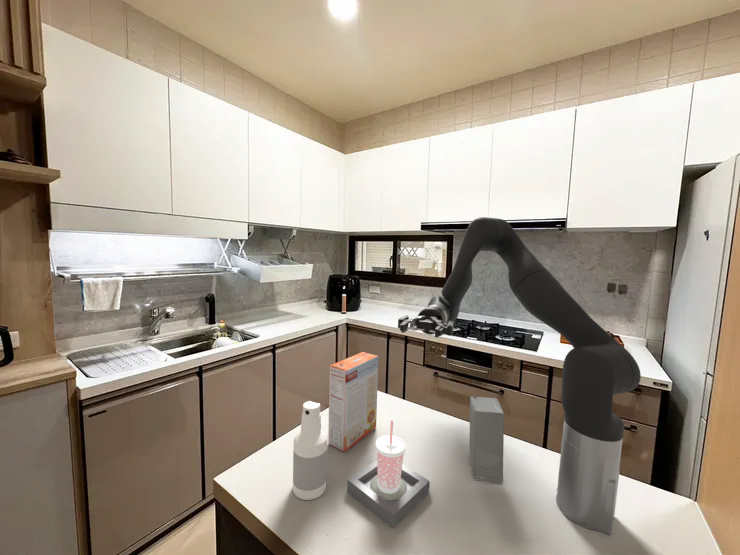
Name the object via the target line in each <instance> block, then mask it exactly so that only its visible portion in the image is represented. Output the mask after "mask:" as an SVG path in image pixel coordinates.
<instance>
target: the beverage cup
mask: <svg viewBox="0 0 740 555" xmlns="http://www.w3.org/2000/svg"><path fill="white" fill-rule="evenodd" d="M393 428H394V420H393V419H391V420H390V428H389V429H390V431H389V434H386V435H382V436H380V437H378V438H377V439H376V441H375V450H376V453H377V454H376V455H377V456H376V458H377V459H376V460H377V474H378V488H379V489H380V490H381V491H382V492H384V493H389V494H392V493H395V492H397V491H398V490H399V488H400V480H401V472H402V464H403V465H404V463H403V462H404V454H405V452H406V449H407V448H406V447H407V445H406V442H405V440H403V438H400V437H399V436H396V435H393V431H394V430H393Z"/></svg>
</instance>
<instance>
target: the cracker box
mask: <svg viewBox="0 0 740 555" xmlns="http://www.w3.org/2000/svg"><path fill="white" fill-rule="evenodd" d="M328 369H329V374H328V380H329V381H328V383H329V385H328V386H329V387H328V434H327V436H328V439H327V445H329V446H332V447H334V448H336V449H338V450H339V451H341V452H343V453H346V452H347V451H348V450H349V449H351V448H352V447H353V446H355V445H357V443H358V442H360V441H362V439H364V438H365V437H366V436H368V434H370V433H371V432H372V431H373V430H375V429H376V428H377V415H378V414H377V412H378V411H377V410H378V409H377V408H378V385H379V384H378V383H379V382H378V378H379V355H376V354H372V353H369V352H365V351H361V352H359V353H357V354H354V355H351V356H349V357H347V358H345V359H342V360H340V361H338V362H335V363H333V364H330V365H329V368H328Z"/></svg>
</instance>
